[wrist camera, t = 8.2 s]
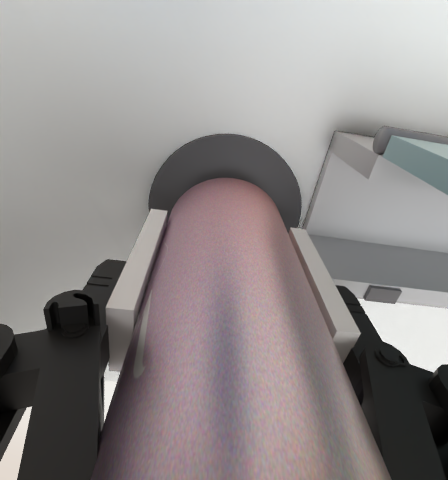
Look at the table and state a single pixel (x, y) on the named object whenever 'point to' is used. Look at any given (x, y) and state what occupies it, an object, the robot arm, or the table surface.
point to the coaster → (227, 172)
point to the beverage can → (233, 359)
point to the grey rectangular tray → (379, 226)
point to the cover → (416, 154)
